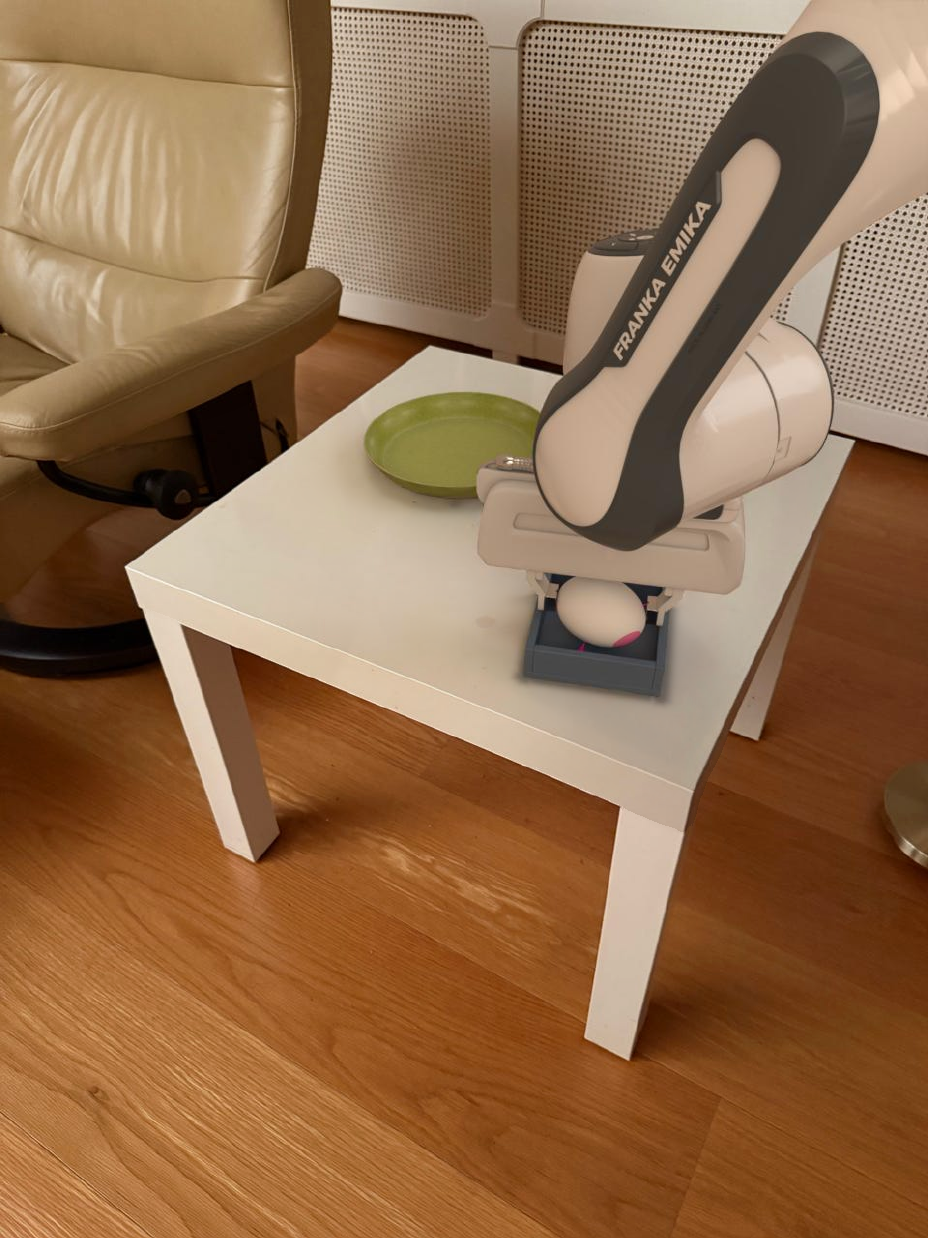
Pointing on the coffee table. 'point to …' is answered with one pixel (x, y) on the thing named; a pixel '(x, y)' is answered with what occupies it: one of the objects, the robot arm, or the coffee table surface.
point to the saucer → (448, 440)
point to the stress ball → (600, 611)
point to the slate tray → (597, 651)
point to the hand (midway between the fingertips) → (600, 613)
